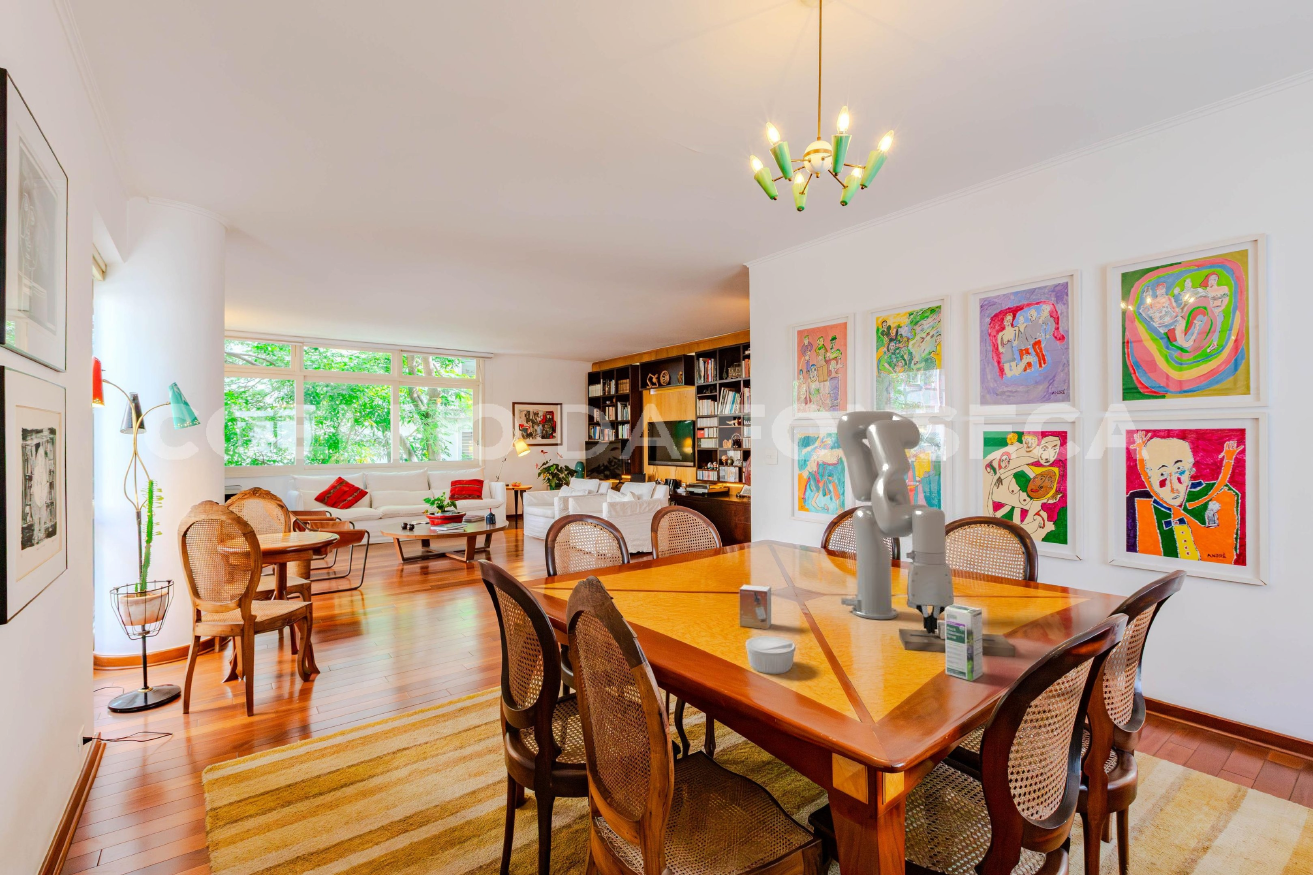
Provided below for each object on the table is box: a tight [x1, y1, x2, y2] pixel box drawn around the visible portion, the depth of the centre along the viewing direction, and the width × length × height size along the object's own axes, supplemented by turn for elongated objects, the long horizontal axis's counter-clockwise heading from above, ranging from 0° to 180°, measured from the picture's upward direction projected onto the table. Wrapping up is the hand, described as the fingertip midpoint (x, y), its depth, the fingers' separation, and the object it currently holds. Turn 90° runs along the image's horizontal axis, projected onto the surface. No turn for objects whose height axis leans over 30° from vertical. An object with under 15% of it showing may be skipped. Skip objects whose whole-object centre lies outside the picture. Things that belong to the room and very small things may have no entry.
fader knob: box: [936, 619, 945, 639], centre depth 148 cm, size 4×5×3 cm
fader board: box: [898, 628, 1016, 658], centre depth 148 cm, size 24×10×2 cm, turn 76°
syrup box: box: [944, 603, 984, 682], centre depth 130 cm, size 6×6×14 cm
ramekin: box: [745, 635, 796, 675], centre depth 136 cm, size 11×11×5 cm
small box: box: [738, 584, 772, 630], centre depth 167 cm, size 8×6×10 cm
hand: (930, 631), depth 149 cm, fingers closed
